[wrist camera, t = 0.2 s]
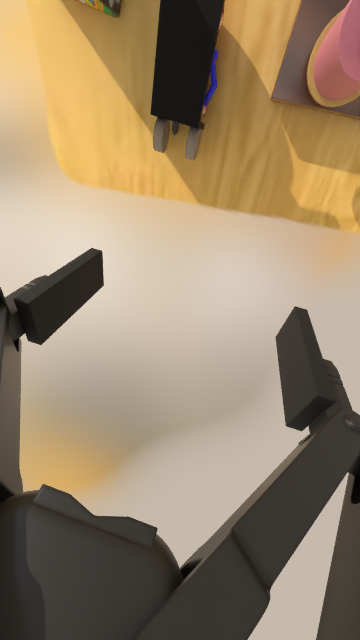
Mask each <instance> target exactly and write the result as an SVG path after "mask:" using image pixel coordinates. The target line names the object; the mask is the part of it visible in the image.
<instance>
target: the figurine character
mask: <svg viewBox="0 0 360 640" xmlns="http://www.w3.org/2000/svg"><path fill="white" fill-rule="evenodd" d="M224 1H225V0H161V1H160V12H159V24H158V35H157V47H156V58H155V70H154V81H153V93H152V104H151V115H154V116H157V117H158V118H157V120H156V123H155V128H154V135H153V147H154V150H155V151H159V152H162V153H164V152H165V150H166V147H167V144H168V139H169V130H170V123H169V120H171V121H173V125H172V132H173V134H174V135H175V134H176V133H177V131H178V123H181V124H185V125H188V126H191V127H190V130H189V134H188V138H187V143H186V150H185V158H187V159H191V160H195V158H196V155H197V152H198V148H199V144H200V139H201V132H202V130H204V125H205V124H203V123H202V122H200V120H201V115H202V114H204V113H205V112H206V106H207V104H208V102H209V100H210V98H211V97H212V95H213V93H214V91H215V89H216V87H217V78H216V65H215V60H216V59H217V56H218V51H217V50H216V49H215V46H216V41H217V36H218V31H219V29H220V26H221V24H222V20H223V15H224ZM210 74H211V86H210V88H209V90H208V92H207V94H206V91H207V86H208V81H209V76H210Z"/></svg>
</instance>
